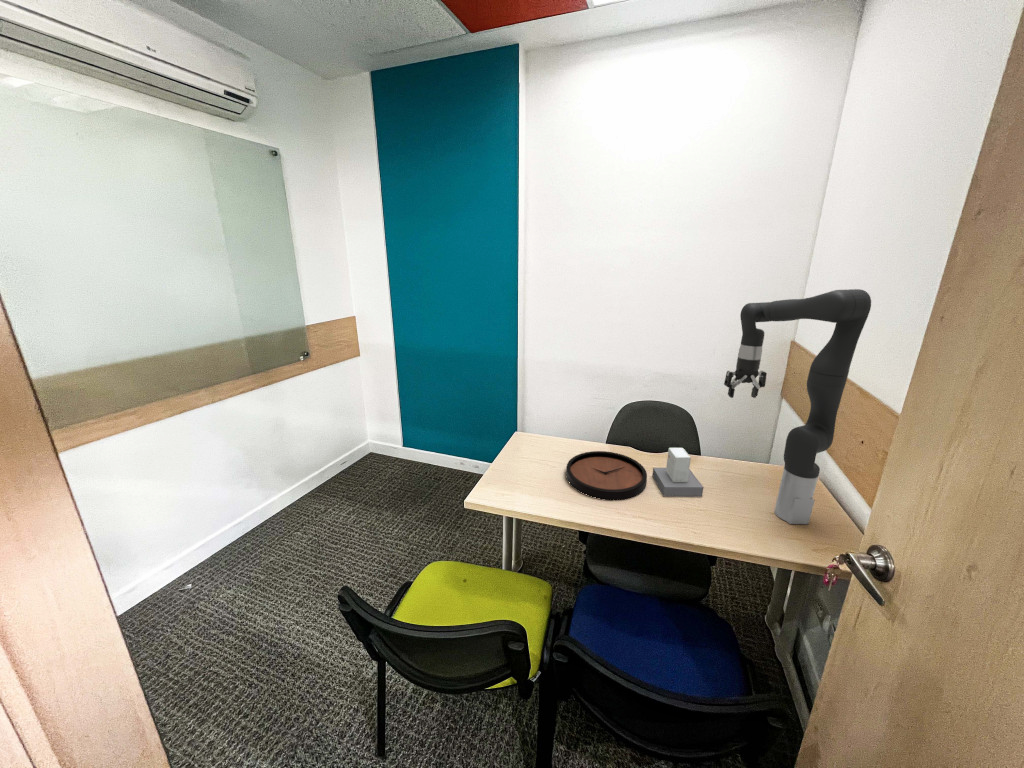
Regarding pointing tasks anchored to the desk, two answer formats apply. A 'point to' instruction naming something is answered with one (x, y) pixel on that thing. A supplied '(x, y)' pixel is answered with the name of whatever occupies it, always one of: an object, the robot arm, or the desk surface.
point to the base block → (677, 484)
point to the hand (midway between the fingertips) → (742, 397)
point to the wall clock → (606, 475)
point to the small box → (678, 464)
